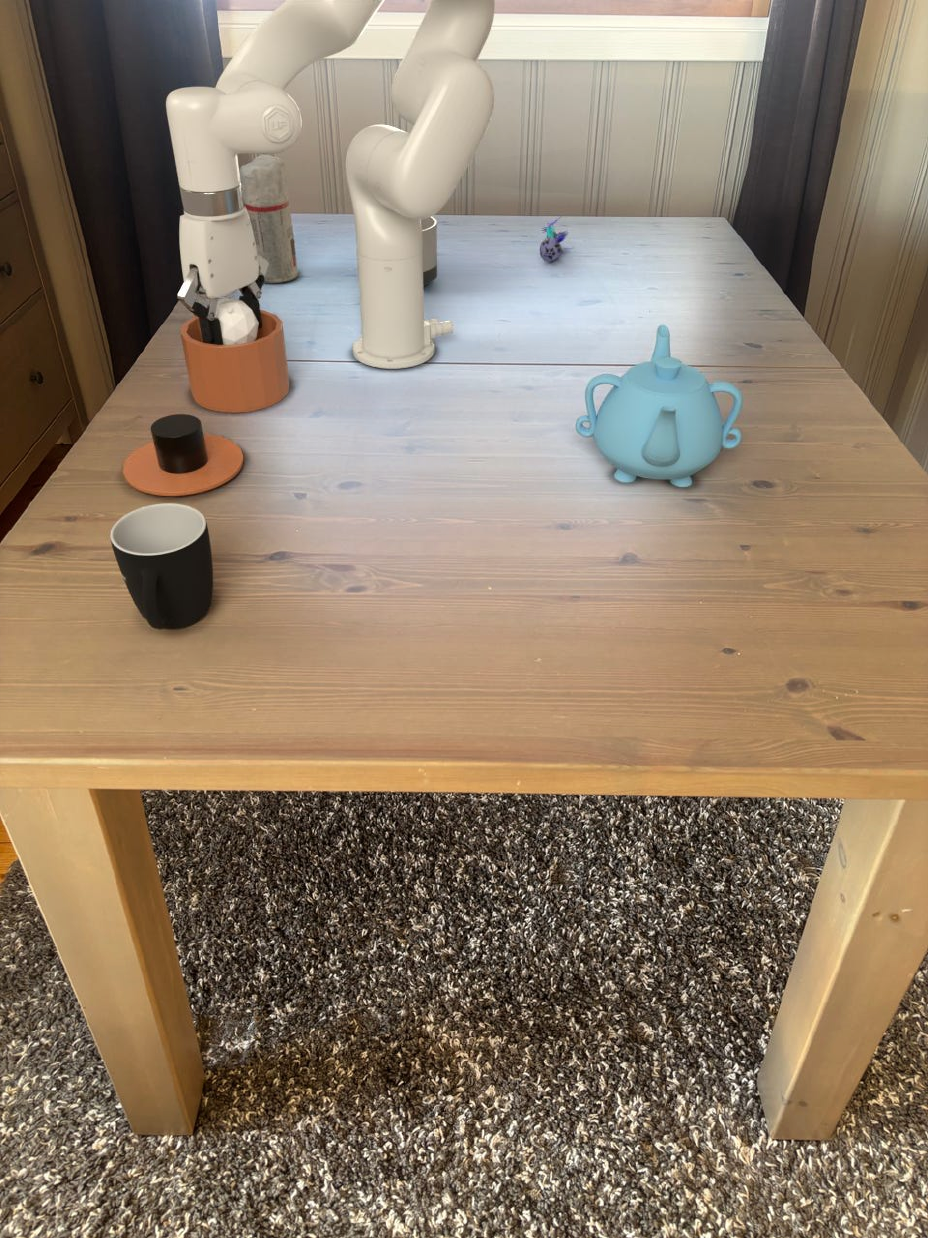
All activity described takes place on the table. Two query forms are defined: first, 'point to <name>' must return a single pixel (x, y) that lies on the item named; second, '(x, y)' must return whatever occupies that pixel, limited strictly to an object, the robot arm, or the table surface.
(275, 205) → the spray can
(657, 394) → the teapot
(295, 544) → the table surface
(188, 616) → the mug
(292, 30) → the robot arm
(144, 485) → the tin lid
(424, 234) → the planter
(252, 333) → the ornament
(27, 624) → the table surface
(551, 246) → the figurine
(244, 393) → the orange hollow cylinder
